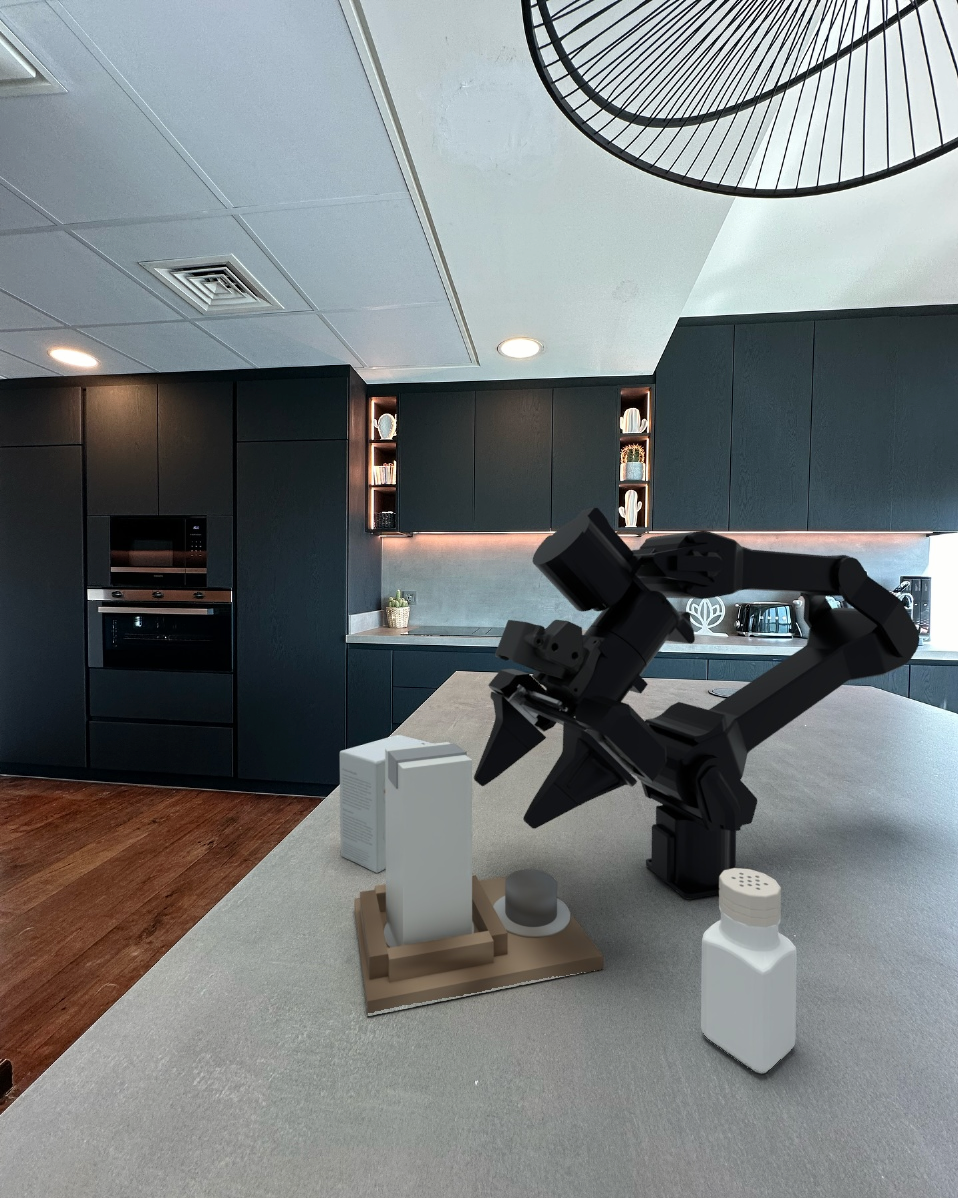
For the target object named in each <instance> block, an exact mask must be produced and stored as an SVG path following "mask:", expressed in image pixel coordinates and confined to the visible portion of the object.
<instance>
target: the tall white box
mask: <svg viewBox="0 0 958 1198" xmlns="http://www.w3.org/2000/svg"><path fill="white" fill-rule="evenodd" d="M385 807H386V869H385V884H386V921H387V923H388V926H389V928H390V930H391V933H392V935H393V937H394V939H395V942H396V944H397V946H403V945H408V944H414V943H420V942H426V941H432V940H438V939H444V938H449V937H455V936H461V935H467V934H472V876H473V759H472V758H470V757H469V756H468V755H467V751H466V750H465V749H463V748H462V747H461V746H460V745H458V744H457V743H450V742H449V741H445V742H436V743H433V744H425V745H416V746H407V747H398V748H389V749H385Z"/></svg>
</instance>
